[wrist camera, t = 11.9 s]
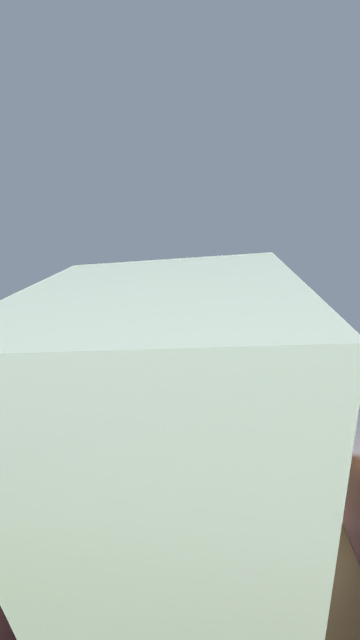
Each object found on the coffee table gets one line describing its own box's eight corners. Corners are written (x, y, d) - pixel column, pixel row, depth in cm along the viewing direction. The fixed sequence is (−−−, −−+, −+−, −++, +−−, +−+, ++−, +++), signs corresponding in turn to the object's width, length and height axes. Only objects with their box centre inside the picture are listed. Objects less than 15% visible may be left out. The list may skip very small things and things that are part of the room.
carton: (298, 815, 8) (368, 343, 3) (85, 781, 9) (-120, 357, 4) (264, 564, 14) (271, 251, 9) (135, 556, 15) (75, 264, 10)
